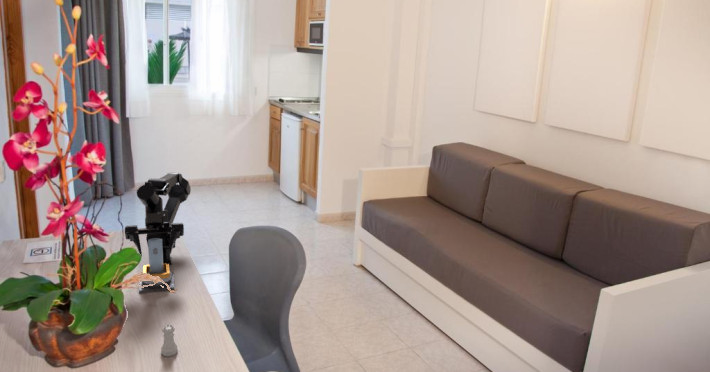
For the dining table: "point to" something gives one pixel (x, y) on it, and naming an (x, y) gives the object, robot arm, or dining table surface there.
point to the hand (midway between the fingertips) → (155, 254)
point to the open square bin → (165, 276)
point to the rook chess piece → (168, 342)
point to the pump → (155, 255)
